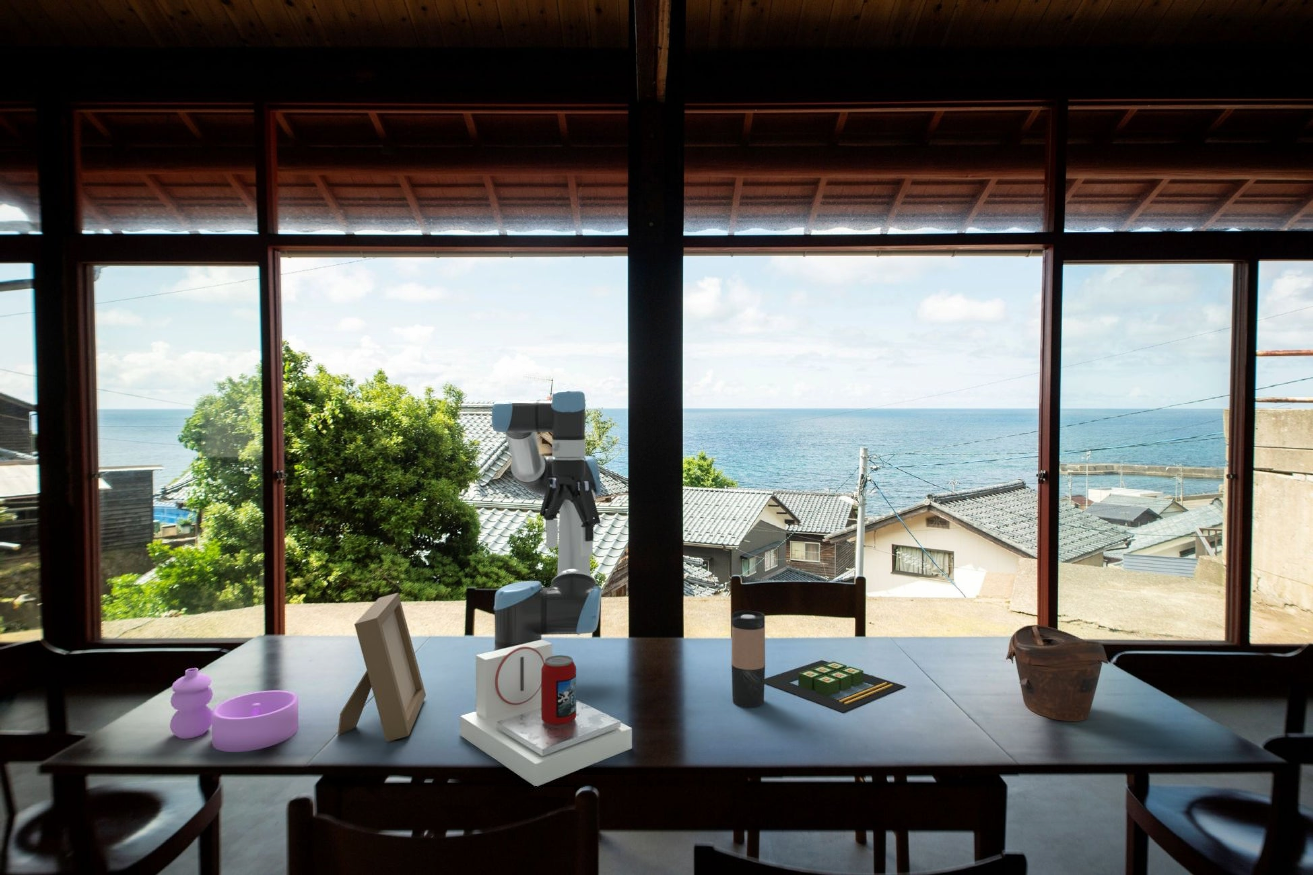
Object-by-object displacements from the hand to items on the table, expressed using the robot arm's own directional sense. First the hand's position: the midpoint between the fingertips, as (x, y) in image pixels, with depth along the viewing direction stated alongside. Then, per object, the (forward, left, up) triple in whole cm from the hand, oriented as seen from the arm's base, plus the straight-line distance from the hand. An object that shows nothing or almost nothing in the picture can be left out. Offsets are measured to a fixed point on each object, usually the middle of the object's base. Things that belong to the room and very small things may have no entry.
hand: (568, 551), depth 161 cm
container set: (-32, -61, -35) cm, 77 cm away
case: (+77, +77, -35) cm, 114 cm away
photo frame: (-18, -36, -35) cm, 53 cm away
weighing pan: (+19, -16, -30) cm, 39 cm away
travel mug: (+28, +30, -35) cm, 54 cm away
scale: (+14, -16, -34) cm, 40 cm away
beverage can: (+19, -16, -29) cm, 38 cm away
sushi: (+34, +54, -35) cm, 73 cm away
